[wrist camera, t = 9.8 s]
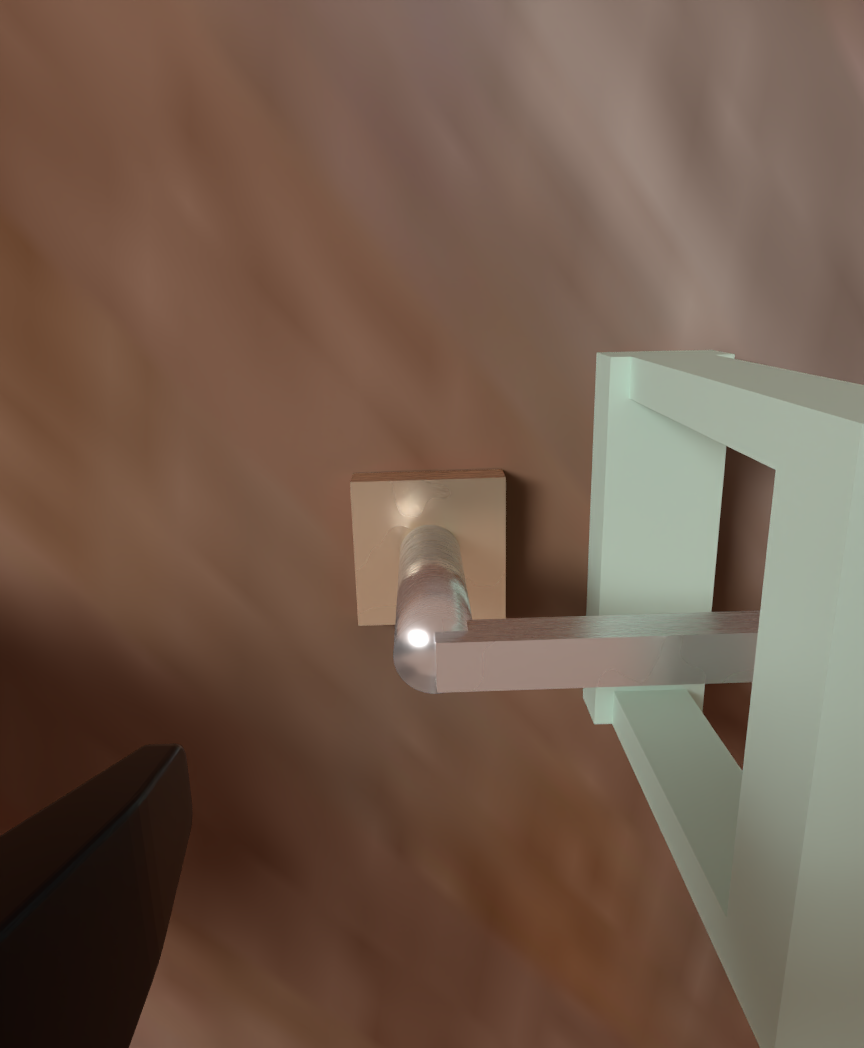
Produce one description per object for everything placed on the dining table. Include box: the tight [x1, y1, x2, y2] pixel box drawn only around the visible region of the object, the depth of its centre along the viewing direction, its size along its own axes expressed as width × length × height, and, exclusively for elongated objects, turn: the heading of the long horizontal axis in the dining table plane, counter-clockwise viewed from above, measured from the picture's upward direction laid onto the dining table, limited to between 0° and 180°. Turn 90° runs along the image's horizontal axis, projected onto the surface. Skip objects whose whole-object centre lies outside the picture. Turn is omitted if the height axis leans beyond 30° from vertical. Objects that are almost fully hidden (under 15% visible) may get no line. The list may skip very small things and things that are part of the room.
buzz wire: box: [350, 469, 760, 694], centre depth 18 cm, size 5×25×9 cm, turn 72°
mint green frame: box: [583, 350, 864, 1048], centre depth 16 cm, size 10×3×12 cm, turn 1°
